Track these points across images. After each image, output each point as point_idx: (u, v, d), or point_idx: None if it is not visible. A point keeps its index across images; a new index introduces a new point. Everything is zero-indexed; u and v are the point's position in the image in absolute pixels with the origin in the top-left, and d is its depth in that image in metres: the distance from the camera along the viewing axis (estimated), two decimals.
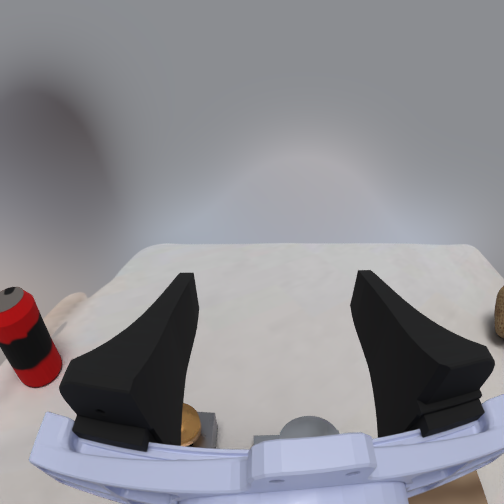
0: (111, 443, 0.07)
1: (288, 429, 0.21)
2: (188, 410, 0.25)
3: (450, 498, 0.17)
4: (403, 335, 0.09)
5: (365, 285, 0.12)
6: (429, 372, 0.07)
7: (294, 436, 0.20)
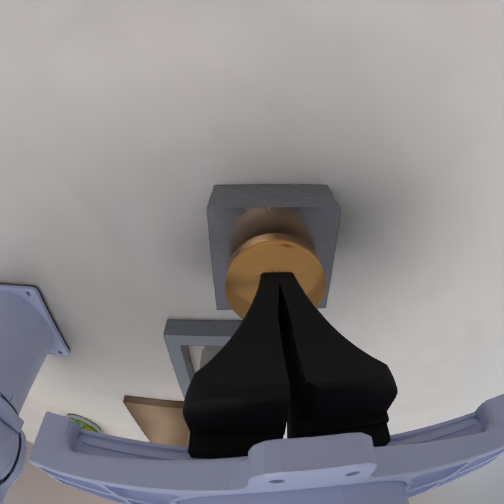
0: (111, 443, 0.07)
1: None
2: None
3: (180, 434, 0.31)
4: (294, 343, 0.09)
5: (279, 288, 0.12)
6: (303, 388, 0.07)
7: None
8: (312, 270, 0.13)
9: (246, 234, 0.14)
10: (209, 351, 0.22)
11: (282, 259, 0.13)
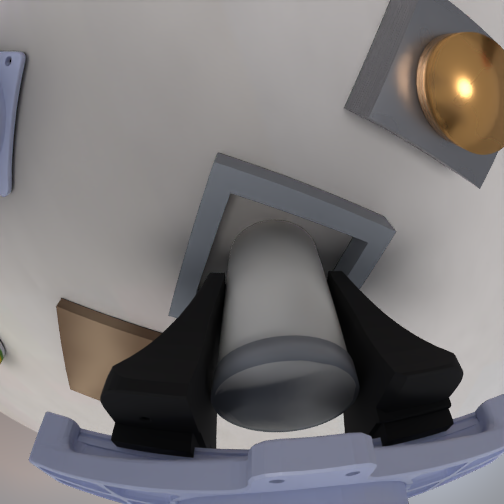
0: (111, 443, 0.07)
1: (342, 381, 0.08)
2: (495, 138, 0.08)
3: None
4: (365, 339, 0.09)
5: (334, 286, 0.12)
6: (386, 379, 0.07)
7: (315, 385, 0.08)
8: None
9: None
10: (261, 230, 0.14)
11: (501, 61, 0.06)
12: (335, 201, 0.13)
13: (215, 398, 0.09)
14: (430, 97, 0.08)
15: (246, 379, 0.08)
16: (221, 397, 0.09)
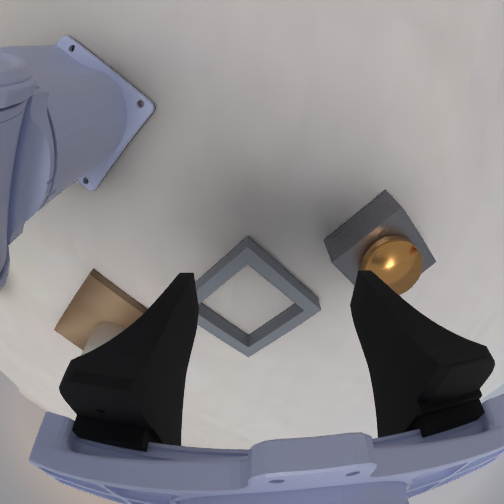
0: (111, 443, 0.07)
1: None
2: None
3: None
4: (403, 335, 0.09)
5: (365, 285, 0.12)
6: (429, 372, 0.07)
7: None
8: (415, 275, 0.19)
9: None
10: None
11: (415, 260, 0.19)
12: (296, 284, 0.24)
13: None
14: (365, 266, 0.19)
15: None
16: None
